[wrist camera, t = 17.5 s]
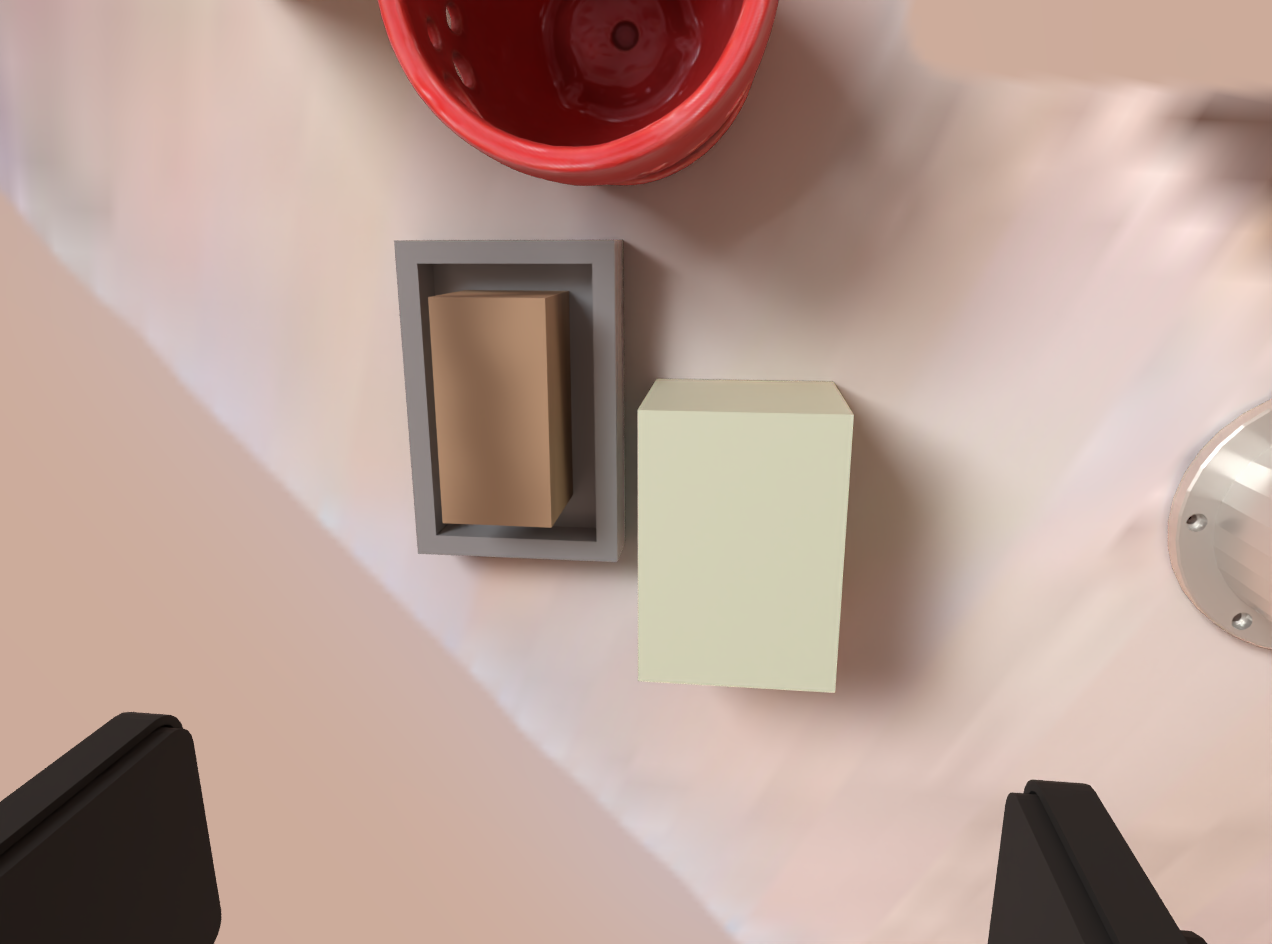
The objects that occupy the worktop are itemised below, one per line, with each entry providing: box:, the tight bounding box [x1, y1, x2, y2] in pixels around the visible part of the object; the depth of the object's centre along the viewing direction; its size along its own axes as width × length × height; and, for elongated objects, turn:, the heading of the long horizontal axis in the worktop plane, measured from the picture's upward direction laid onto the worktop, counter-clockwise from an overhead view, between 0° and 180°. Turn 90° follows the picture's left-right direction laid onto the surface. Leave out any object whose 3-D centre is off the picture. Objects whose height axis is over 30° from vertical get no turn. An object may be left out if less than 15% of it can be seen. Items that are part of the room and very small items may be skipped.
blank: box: [428, 290, 573, 528], centre depth 39 cm, size 5×10×5 cm, turn 0°
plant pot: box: [378, 0, 778, 186], centre depth 32 cm, size 13×13×12 cm
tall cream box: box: [638, 379, 854, 693], centre depth 38 cm, size 8×12×8 cm
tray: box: [394, 240, 625, 562], centre depth 41 cm, size 10×15×3 cm, turn 0°
